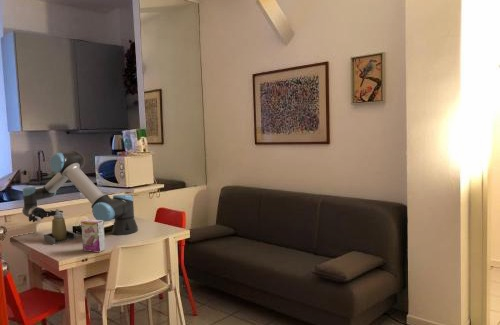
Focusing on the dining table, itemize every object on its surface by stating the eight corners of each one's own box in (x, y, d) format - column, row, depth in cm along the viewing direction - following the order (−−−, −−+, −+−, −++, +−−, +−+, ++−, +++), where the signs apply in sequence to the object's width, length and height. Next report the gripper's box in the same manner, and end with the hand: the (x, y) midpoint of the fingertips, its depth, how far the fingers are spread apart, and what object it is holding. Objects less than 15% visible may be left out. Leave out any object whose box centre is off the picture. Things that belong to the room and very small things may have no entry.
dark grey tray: (44, 240, 248) (43, 234, 248) (65, 235, 258) (65, 229, 257) (53, 244, 239) (53, 238, 239) (76, 239, 249) (75, 233, 249)
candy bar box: (82, 251, 225) (80, 221, 223) (89, 248, 230) (86, 219, 228) (99, 252, 222) (97, 222, 220) (106, 249, 226) (103, 220, 224)
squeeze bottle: (55, 237, 252) (52, 207, 250) (69, 236, 253) (66, 207, 251) (50, 241, 244) (47, 210, 242) (64, 240, 245) (62, 210, 243)
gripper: (57, 215, 276) (72, 219, 262) (16, 223, 258) (30, 228, 244) (56, 203, 276) (71, 207, 261) (15, 211, 257) (29, 215, 243)
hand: (52, 217), depth 253 cm, fingers open, 13 cm apart
